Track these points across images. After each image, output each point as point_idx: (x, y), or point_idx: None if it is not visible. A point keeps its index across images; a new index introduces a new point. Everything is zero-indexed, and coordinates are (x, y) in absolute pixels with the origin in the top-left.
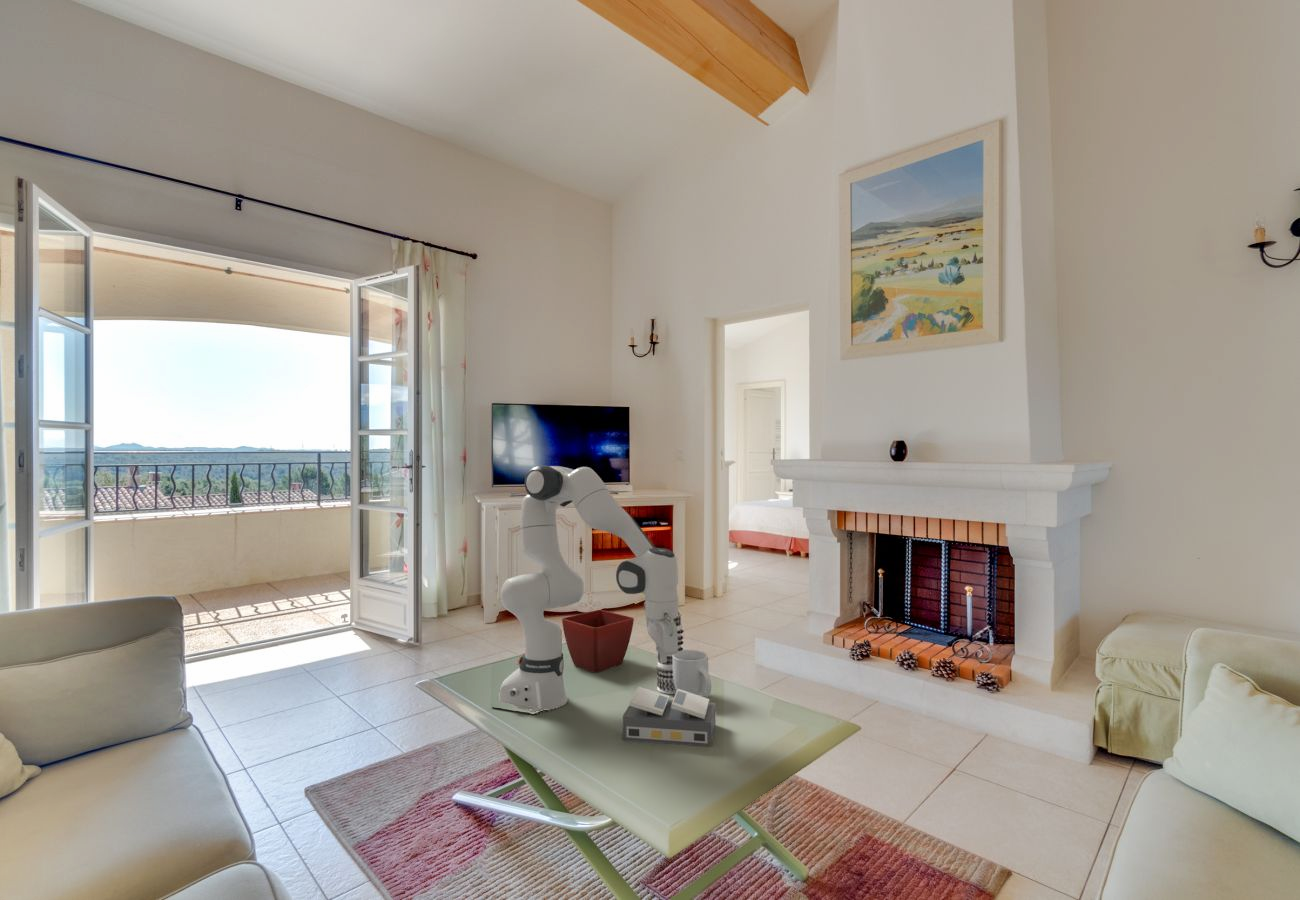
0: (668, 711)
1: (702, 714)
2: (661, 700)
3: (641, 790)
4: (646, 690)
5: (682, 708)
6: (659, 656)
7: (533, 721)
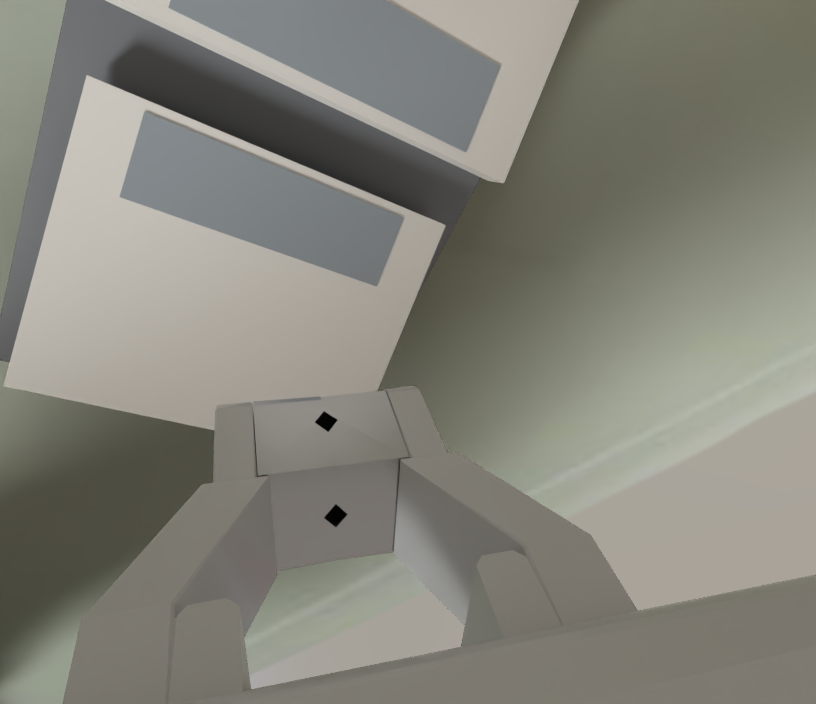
0: (334, 141)
1: None
2: (241, 198)
3: (738, 331)
4: (61, 316)
5: (541, 82)
6: (375, 538)
7: (56, 671)
